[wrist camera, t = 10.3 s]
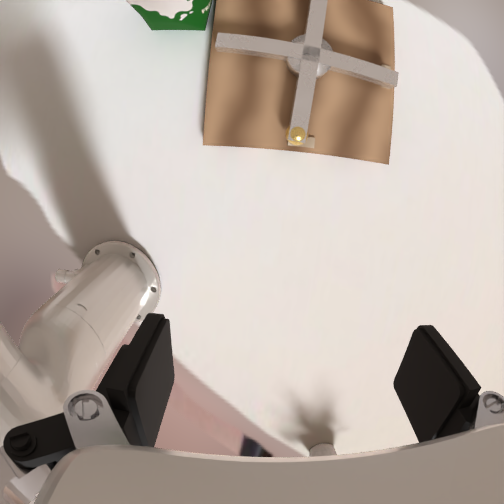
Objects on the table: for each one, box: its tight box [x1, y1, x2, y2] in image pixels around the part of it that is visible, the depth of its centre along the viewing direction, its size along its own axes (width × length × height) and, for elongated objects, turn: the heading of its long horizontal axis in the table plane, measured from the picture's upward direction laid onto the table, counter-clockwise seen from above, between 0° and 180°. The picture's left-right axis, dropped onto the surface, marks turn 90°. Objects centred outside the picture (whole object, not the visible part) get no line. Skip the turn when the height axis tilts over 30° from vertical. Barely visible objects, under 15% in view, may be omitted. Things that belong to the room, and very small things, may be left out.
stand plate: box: [203, 0, 395, 165], centre depth 30 cm, size 22×22×2 cm
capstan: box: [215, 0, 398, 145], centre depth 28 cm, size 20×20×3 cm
